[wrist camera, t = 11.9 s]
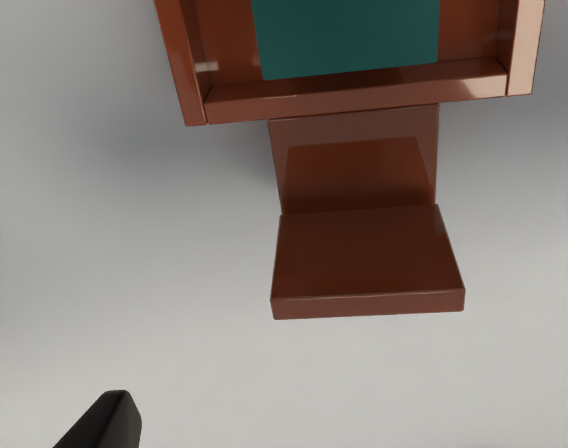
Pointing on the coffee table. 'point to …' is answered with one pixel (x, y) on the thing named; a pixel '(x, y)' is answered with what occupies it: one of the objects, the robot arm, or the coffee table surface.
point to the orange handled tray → (353, 149)
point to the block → (343, 35)
